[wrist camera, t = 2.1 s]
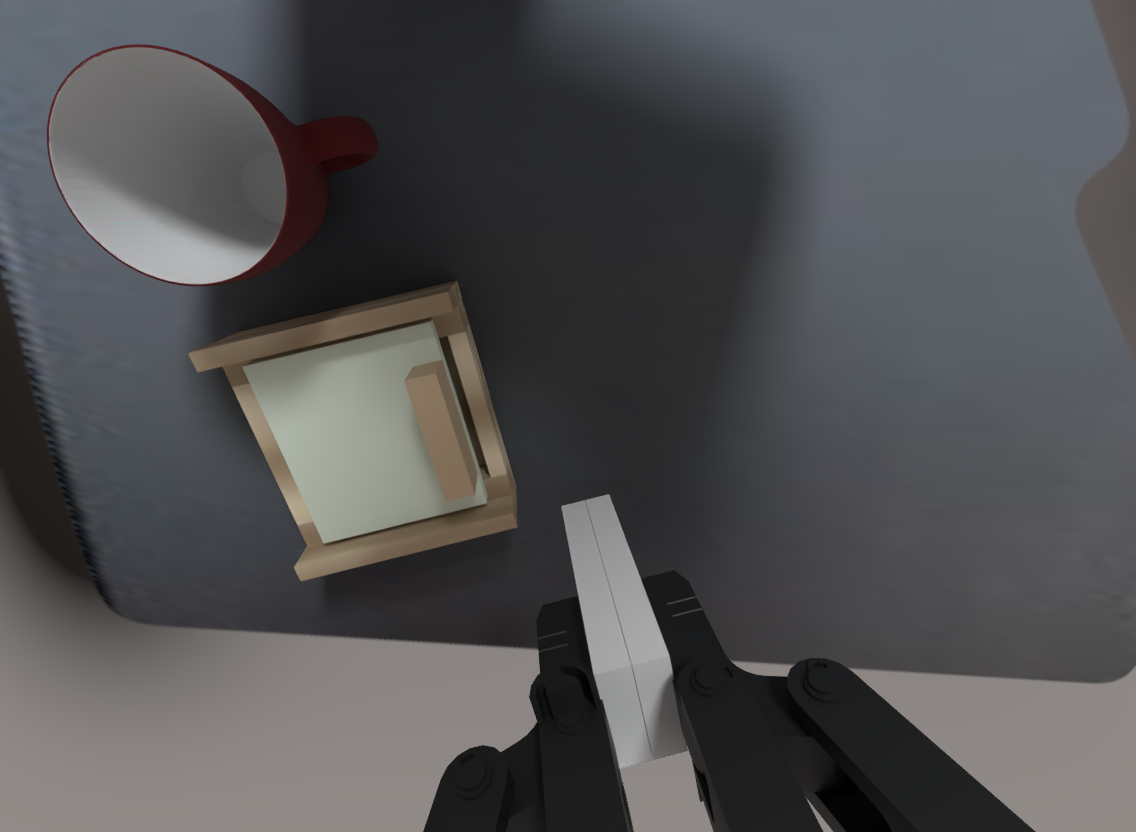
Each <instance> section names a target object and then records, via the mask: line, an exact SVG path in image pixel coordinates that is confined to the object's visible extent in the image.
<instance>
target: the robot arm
mask: <svg viewBox="0 0 1136 832" xmlns="http://www.w3.org/2000/svg"><path fill="white" fill-rule="evenodd" d="M585 501H586V502H585ZM586 505H587V506H586ZM561 508H562V513H563V518H564V523H565V528H566V534H567V539H568V544H569V549H570V554H571V560H572V565H573V570H574V575H575V581H576V586H577V591H578V596H577V597H573V598H569V599H565V600H561V601H557V602H553V603H549V604H545V605H543V606H542V608H541V611H540V613H539V616H538V618H537V620H536V624H537V637H538V650H539V664H540V674H539V675H538V676H537V677H536V679H535V681H534V682H533V684H532V685H531V690H530V696H529V698H530V701H531V704H532V706H533V710H534V713H535V716H536V719H537V723H536V725H535V726H534V728H533V729H532V730H531V731H530V732H529V733H528V735H526V736H525V737H524V738H522V739H521V740H520V741H518V742H517V743H515V744H514V745H512V746H510V747H509V748H507V749H506V750H504V751H502V752H499V751H498V750H497V749H496V748H494V747H489V746H484V745H482V746H478V747H473V748H470V749H468V750H466V751H465V752H463V753H461V754H460V755H458V756H457V757H456V758H455V759H454V760H453V761H452V762H451V763H450V764H449V765H448V767H447V769H446V770H445V772H444V774H443V776H442V778H441V780H440V784H439V787H438V789H437V793H436V795H435V798H434V801H433V804H432V808H431V810H430V813H429V816H428V820H427V822H426V825H425V828H424V831H423V832H634V831H633V826H632V821H631V817H630V812H629V807H628V803H627V798H626V794H625V790H624V786H623V783H622V778H621V773H620V768H624V767H628V766H632V765H635V764H639V763H643V762H646V761H651V760H653V759H658V758H662V757H666V756H670V755H673V754H677V753H681V752H685V751H687V746H688V749H689V752H690V755H691V758H692V762H693V767H694V772H695V777H696V783H697V788H698V793H699V798H700V802H701V801H704V804H705V807H706V810H707V813H708V816H709V819H710V822H711V825H712V828H713V831H714V832H823V830H822V828H821V827H820V824H819V823H818V820H817V819H816V817H815V815H814V813H813V811H812V809H811V807H810V805H809V803H808V801H807V799H808V800H809V801H810V802H811V804H812V805H813V807H814V808H815V809H816V810H817V811H818V813H819V814H820V815H821V817H822V818H823V819H824V820H825V821H826V823H827V824H828V825H829V826H830V828H831V829H832V830H833V832H1035V831H1034V830H1033V829H1032V828H1031V827H1029V826H1028V825H1027V824H1026V823H1025V822H1024V821H1023V820H1021V819H1020V818H1019V817H1018V816H1017V815H1016V814H1015V813H1013V812H1012V811H1011V810H1010V809H1009V808H1008V807H1007V806H1005V805H1004V804H1003V803H1002V802H1001V801H1000V800H999V799H997V798H996V797H995V796H994V795H993V794H992V793H991V792H989V791H988V790H987V789H986V788H985V787H984V786H983V785H981V784H980V783H979V782H978V781H977V780H976V779H974V778H973V777H972V776H971V775H970V774H969V773H968V772H967V771H965V770H964V769H963V768H962V767H961V766H960V765H958V764H957V763H956V762H955V761H954V760H953V759H951V757H949V756H948V755H947V754H946V753H945V752H944V751H942V750H941V749H940V748H939V747H938V746H937V745H936V744H935V743H933V742H932V741H931V740H930V739H929V738H928V737H927V736H925V735H924V734H923V733H922V732H921V731H919V730H918V729H917V728H916V727H915V726H914V725H913V724H912V723H910V722H909V721H908V720H907V719H906V718H905V717H904V716H902V715H901V714H900V713H899V712H898V711H897V710H896V709H894V708H893V707H892V706H891V705H890V704H889V703H887V702H886V701H885V700H884V699H883V698H882V697H881V696H880V695H878V694H877V693H876V692H875V691H874V690H872V688H870V687H869V686H868V685H867V684H866V683H865V682H863V681H862V680H861V679H860V678H859V677H858V676H857V675H856V674H854V673H853V672H852V671H851V670H849V669H848V668H846V667H845V666H843V665H842V664H840V663H838V662H834V661H831V660H828V659H824V658H810V659H806V660H803V661H800V662H798V663H797V664H796V665H794V666H793V667H792V668H791V669H790V671H789V674H788V677H779V676H762V675H755V674H752V673H749V672H746V671H744V670H742V669H740V668H739V667H737V666H736V665H735V664H733V663H732V662H731V661H730V660H729V659H728V657H727V656H726V654H725V653H724V651H723V649H722V647H721V645H720V643H719V641H718V639H717V637H716V635H715V633H714V631H713V629H712V627H711V625H710V623H709V621H708V619H707V617H706V615H705V613H704V611H703V610H702V608H701V605H700V603H699V601H698V599H697V598H696V596H695V594H694V592H693V590H692V588H691V586H690V584H689V582H688V580H686V579H685V578H684V577H682V576H681V575H680V574H678V573H677V572H676V571H670V572H666V573H662V574H658V575H654V576H650V577H646V578H642V579H641V578H640V576H639V573H638V570H637V568H636V565H635V562H634V560H633V557H632V554H631V552H630V549H629V546H628V544H627V541H626V538H625V536H624V533H623V530H622V528H621V525H620V522H619V520H618V517H617V514H616V512H615V509H614V506H613V504H612V501H611V498H610V496H609V494H608V495H604V496H600V497H596V498H592V499H588V500H584V501H580V502H576V503H572V504H568V505H563V506H561ZM650 748H651V749H650ZM651 752H652V753H651ZM652 756H653V758H652ZM805 796H806V797H805ZM806 798H807V799H806Z"/></svg>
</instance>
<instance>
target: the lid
mask: <svg viewBox="0 0 1136 832" xmlns="http://www.w3.org/2000/svg"><path fill="white" fill-rule="evenodd" d="M242 368H243V370H244V372H245V374H246V376H247V378H248V381H249V383H250V385H251V387H252V389H253V392H254V394H255V396H256V398H257V400H258V402H259V405H260V407H261V409H262V411H263V413H264V415H265V418H266V420H267V422H268V424H269V426H270V428H271V431H272V433H273V435H274V437H275V439H276V442H277V444H278V446H279V448H280V450H281V452H282V455H283V457H284V459H285V461H286V463H287V465H288V468H289V470H290V472H291V474H292V476H293V478H294V481H295V483H296V485H297V487H298V489H299V492H300V494H301V496H302V498H303V500H304V502H305V505H306V507H307V509H308V511H309V513H310V515H311V518H312V520H313V522H314V524H315V526H316V528H317V531H318V533H319V535H320V537H321V539H322V542H323V544H324V543H328V542H332V541H336V540H341V539H345V538H349V537H353V536H357V535H361V534H365V533H369V532H373V531H377V530H381V529H385V528H389V527H393V526H397V525H401V524H405V523H409V522H413V521H417V520H421V519H425V518H430V517H434V516H438V515H442V514H446V513H450V512H454V511H458V510H462V509H466V508H470V507H474V506H478V505H482V504H486V503H487V498H488V495H487V491H486V488H485V485H484V482H483V479H482V475H481V472H480V469H479V466H478V463H477V459H476V456H475V453H474V450H473V447H472V443H471V440H470V437H469V434H468V430H467V427H466V424H465V421H464V418H463V414H462V411H461V408H460V405H459V402H458V398H457V395H456V392H455V389H454V386H453V382H452V379H451V376H450V373H449V370H448V366H447V363H446V360H445V357H444V354H443V350H442V347H441V344H440V341H439V338H438V334H437V331H436V328H435V325H434V322H433V319H429V320H425V321H420V322H416V323H412V324H408V325H404V326H399V327H395V328H391V329H387V330H383V331H378V332H374V333H370V334H366V335H362V336H357V337H353V338H349V339H345V340H340V341H336V342H332V343H328V344H324V345H319V346H315V347H311V348H307V349H303V350H298V351H294V352H290V353H286V354H282V355H277V356H273V357H269V358H265V359H261V360H256V361H252V362H250V363H248V364H246V365H244V366H242Z"/></svg>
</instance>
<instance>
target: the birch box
mask: <svg viewBox="0 0 1136 832" xmlns="http://www.w3.org/2000/svg"><path fill="white" fill-rule="evenodd" d="M429 319H433V322H434V325H435V328H436V331H437V334H438V338H439V341H440V344H441V347H442V350H443V354H444V357H445V360H446V363H447V366H448V370H449V373H450V376H451V379H452V382H453V386H454V389H455V392H456V395H457V398H458V402H459V405H460V408H461V411H462V414H463V418H464V421H465V424H466V427H467V430H468V434H469V437H470V440H471V443H472V447H473V450H474V453H475V456H476V459H477V463H478V466H479V469H480V472H481V475H482V479H483V482H484V485H485V488H486V491H487V495H488V498H487V503H486V504H482V505H478V506H474V507H470V508H466V509H462V510H458V511H454V512H450V513H446V514H442V515H438V516H434V517H430V518H425V519H421V520H417V521H413V522H409V523H405V524H401V525H397V526H393V527H389V528H385V529H381V530H377V531H373V532H369V533H365V534H361V535H357V536H353V537H349V538H345V539H341V540H336V541H332V542H328V543H324V544H323V542H322V539H321V537H320V535H319V533H318V531H317V528H316V526H315V524H314V522H313V520H312V518H311V515H310V513H309V511H308V509H307V507H306V505H305V502H304V500H303V498H302V496H301V494H300V492H299V489H298V487H297V485H296V483H295V481H294V478H293V476H292V474H291V472H290V470H289V468H288V465H287V463H286V461H285V459H284V457H283V455H282V452H281V450H280V448H279V446H278V444H277V442H276V439H275V437H274V435H273V433H272V431H271V428H270V426H269V424H268V422H267V420H266V418H265V415H264V413H263V411H262V409H261V407H260V405H259V402H258V400H257V398H256V396H255V394H254V392H253V389H252V387H251V385H250V383H249V381H248V378H247V376H246V374H245V372H244V370H243V368H242V366H244V365H246V364H248V363H250V362H252V361H256V360H261V359H265V358H269V357H273V356H277V355H282V354H286V353H290V352H294V351H298V350H303V349H307V348H311V347H315V346H319V345H324V344H328V343H332V342H336V341H340V340H345V339H349V338H353V337H357V336H362V335H366V334H370V333H374V332H378V331H383V330H387V329H391V328H395V327H399V326H404V325H408V324H412V323H416V322H420V321H425V320H429ZM188 354H189V356H190V358H191V360H192V362H193V364H194V366H195V368H196V370H197V372H201V371H206V370H210V369H214V368H218V367H223V369H224V371H225V373H226V376H227V378H228V380H229V382H230V384H231V386H232V388H233V390H234V392H235V394H236V397H237V399H238V401H239V403H240V405H241V407H242V409H243V411H244V413H245V416H246V418H247V420H248V422H249V424H250V426H251V428H252V430H253V432H254V435H255V437H256V439H257V441H258V443H259V445H260V447H261V449H262V451H263V454H264V456H265V458H266V460H267V462H268V464H269V466H270V468H271V470H272V473H273V475H274V477H275V479H276V481H277V483H278V485H279V487H280V489H281V491H282V494H283V496H284V498H285V500H286V502H287V504H288V506H289V508H290V510H291V513H292V515H293V517H294V519H295V521H296V523H297V525H298V527H299V529H300V532H301V534H302V536H303V538H304V540H305V542H306V544H307V547H306V549H305V550H304V552H303V553H302V555H301V557H300V558H299V560H298V562H297V563H296V565H295V567H294V569H295V571H296V573H297V575H298V577H299V579H300V581H304V580H308V579H312V578H316V577H320V576H324V575H328V574H332V573H336V572H340V571H344V570H348V569H352V568H356V567H360V566H364V565H369V564H373V563H377V562H381V561H385V560H389V559H393V558H397V557H401V556H405V555H409V554H413V553H417V552H421V551H425V550H429V549H433V548H437V547H441V546H445V545H449V544H453V543H457V542H461V541H465V540H469V539H473V538H477V537H481V536H485V535H489V534H493V533H497V532H501V531H505V530H509V529H513V528H517V527H518V524H517V496H516V484H515V480H514V477H513V473H512V470H511V467H510V463H509V460H508V456H507V453H506V449H505V446H504V442H503V439H502V435H501V432H500V428H499V425H498V421H497V418H496V414H495V411H494V407H493V404H492V401H491V397H490V394H489V390H488V387H487V383H486V380H485V376H484V373H483V369H482V366H481V362H480V359H479V355H478V352H477V348H476V345H475V341H474V338H473V334H472V331H471V328H470V324H469V321H468V317H467V314H466V310H465V307H464V303H463V300H462V296H461V293H460V289H459V286H458V282H457V281H452V282H448V283H444V284H440V285H435V286H431V287H427V288H423V289H419V290H414V291H410V292H406V293H402V294H397V295H393V296H389V297H385V298H380V299H376V300H372V301H368V302H364V303H359V304H355V305H351V306H347V307H342V308H338V309H334V310H330V311H325V312H321V313H317V314H313V315H309V316H304V317H300V318H296V319H292V320H287V321H283V322H279V323H275V324H271V325H266V326H262V327H258V328H254V329H249V330H245V331H241V332H237V333H235V334H233V335H230V336H228V337H225V338H223V339H221V340H218V341H216V342H214V343H211V344H209V345H206V346H204V347H202V348H199V349H197V350H195V351H192V352H190V353H188Z"/></svg>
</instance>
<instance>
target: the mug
mask: <svg viewBox="0 0 1136 832" xmlns="http://www.w3.org/2000/svg"><path fill="white" fill-rule="evenodd" d="M47 147H48V155H49V160H50V165H51V169H52V172H53V176H54V179H55V181H56V184H57V186H58V189H59V191H60V193H61V195H62V197H63V199H64V201H65V203H66V204H67V206H68V208H69V210H70V211H71V213H72V214H73V216H74V217H75V218H76V220H77V221H78V223H79V224H80V225H81V226H82V227H83V229H84V230H85V231H86V232H87V233H88V234H89V235H90V237H91V238H92V239H93V240H94V241H95V242H96V243H97V244H99V245H100V246H101V247H102V248H103V249H104V250H105V251H107V252H108V253H109V254H111V255H112V256H113V257H114V258H116V259H117V260H119V261H120V262H122V263H123V264H125V265H127V266H128V267H130V268H132V269H134V270H136V271H138V272H140V273H142V274H144V275H146V276H149V277H152V278H154V279H157V280H160V281H164V282H168V283H172V284H177V285H185V286H213V285H220V284H226V283H231V282H236V281H241V280H246V279H249V278H253V277H256V276H259V275H261V274H264V273H266V272H268V271H270V270H272V269H274V268H276V267H277V266H279V265H281V264H282V263H283V262H285V261H286V260H288V259H289V258H290V257H291V256H293V255H294V254H295V253H296V252H297V251H299V250H300V249H301V248H302V247H303V246H305V245H306V244H307V243H308V242H309V241H310V240H311V239H312V238H313V237H314V236H315V234H316V233H317V232H318V230H319V229H320V227H321V225H322V223H323V221H324V218H325V215H326V212H327V206H328V175H329V174H331V173H334V172H338V171H341V170H345V169H349V168H352V167H355V166H358V165H361V164H363V163H365V162H367V161H369V160H371V159H372V158H374V157H375V156H376V153H377V151H378V142H377V139H376V135H375V133H374V131H373V129H372V127H371V126H370V125H369V124H368V123H367V122H366V121H365V120H363V119H361V118H358V117H353V116H340V117H331V118H325V119H320V120H316V121H312V122H309V123H306V124H303V125H300V126H296V125H294V124H293V123H291V122H290V121H289V120H288V119H287V118H286V117H285V116H284V115H283V114H282V113H281V112H280V111H279V110H278V109H277V108H276V107H275V106H274V105H273V104H272V103H271V102H270V101H268V100H267V99H266V98H265V97H264V96H262V95H261V94H260V93H259V92H257V91H256V90H255V89H253V88H252V87H250V86H249V85H247V84H246V83H244V82H243V81H241V80H240V79H238V78H236V77H234V76H233V75H231V74H229V73H227V72H225V71H223V70H221V69H219V68H217V67H215V66H213V65H211V64H209V63H206V62H204V61H202V60H200V59H198V58H195V57H193V56H191V55H188V54H186V53H183V52H180V51H177V50H173V49H169V48H165V47H160V46H153V45H138V44H137V45H124V46H119V47H113V48H110V49H107V50H104V51H101V52H99V53H97V54H94V55H92V56H91V57H89V58H87V59H86V60H84V61H83V62H81V63H80V64H79V65H78V66H77V67H75V68H74V69H73V70H72V71H71V72H70V73H69V75H68V76H67V77H66V78H65V80H64V81H63V82H62V84H61V85H60V87H59V89H58V91H57V93H56V95H55V97H54V100H53V102H52V105H51V109H50V113H49V117H48V125H47Z"/></svg>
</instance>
